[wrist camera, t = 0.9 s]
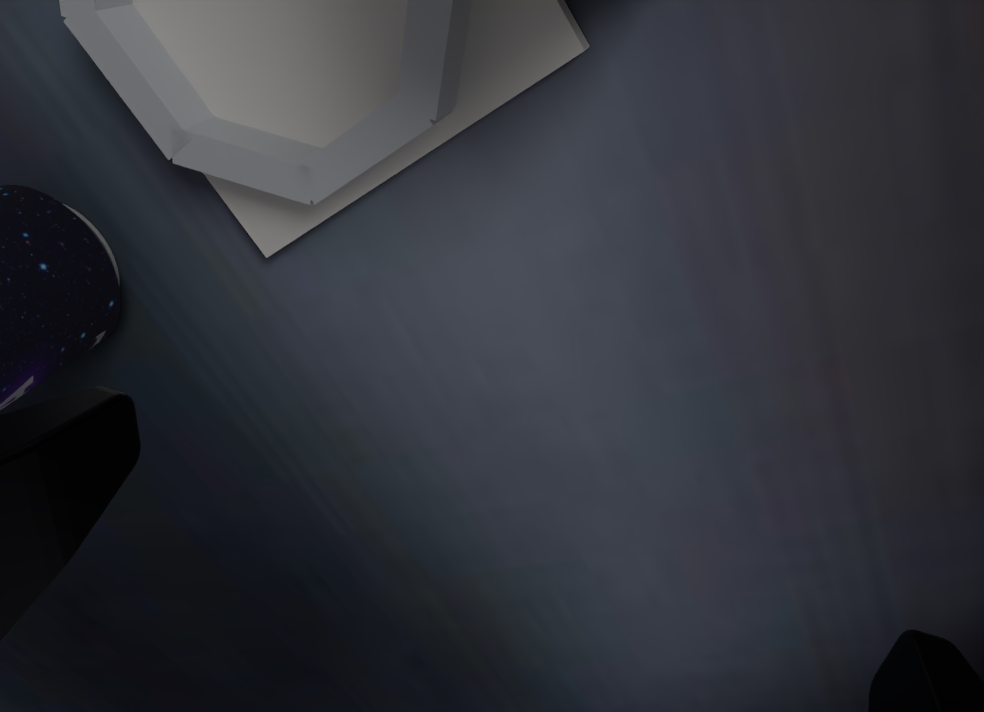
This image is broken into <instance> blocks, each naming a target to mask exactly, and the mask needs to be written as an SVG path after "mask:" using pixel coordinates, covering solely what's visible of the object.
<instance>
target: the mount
mask: <svg viewBox="0 0 984 712" xmlns="http://www.w3.org/2000/svg"><path fill="white" fill-rule="evenodd" d="M59 1H60V9H61V16H64V17H67V18H66V19H65V20H64V23H65V24H66V25H67V27H68V28H69V29H70V31H71V32H72V33H73V35H74V36H75V37H76V39H77V40H78V41H79V43H80V44H81V45H82V47H83V48H84V49H85V50H86V52H87V53H88V54H89V56H90V57H91V58H92V60H93V61H94V62H95V64H96V65H97V66H98V68H99V69H100V70H101V72H102V73H103V74H104V76H105V77H106V78H107V80H108V81H109V82H110V84H111V85H112V86H113V88H114V89H115V90H116V91H117V93H118V94H119V95H120V97H121V98H122V99H123V101H124V102H125V103H126V105H127V106H128V107H129V109H130V110H131V111H132V113H133V114H134V115H135V117H136V118H137V119H138V121H139V122H140V123H141V125H142V126H143V127H144V128H145V130H146V131H147V132H148V134H149V135H150V136H151V138H152V139H153V140H154V142H155V143H156V144H157V146H158V147H159V148H160V150H161V151H162V152H163V154H164V155H165V156H166V158H167V159H168V160H170V159H173V163H174V164H177V165H180V166H183V167H187V168H190V169H193V170H196V171H200V172H203V174H204V175H205V176H206V178H207V179H208V180H209V182H210V183H211V184H212V186H213V187H214V189H215V190H216V191H217V193H218V194H219V195H220V197H221V198H222V199H223V201H224V202H225V203H226V205H227V206H228V207H229V209H230V210H231V211H232V213H233V214H234V215H235V217H236V218H237V219H238V221H239V222H240V223H241V225H242V226H243V227H244V229H245V230H246V231H247V233H248V234H249V235H250V237H251V238H252V239H253V241H254V242H255V243H256V245H257V246H258V247H259V249H260V250H261V251H262V253H263V254H264V256H265V257H266V258H268V257H269V256H271V255H272V254H274V253H275V252H277V251H278V250H280V249H281V248H283V247H284V246H286V245H287V244H289V243H291V242H292V241H294V240H295V239H297V238H298V237H300V236H301V235H303V234H304V233H306V232H307V231H309V230H311V229H312V228H314V227H315V226H317V225H318V224H320V223H321V222H323V221H324V220H326V219H327V218H329V217H330V216H332V215H334V214H335V213H337V212H338V211H340V210H341V209H343V208H344V207H346V206H347V205H349V204H350V203H352V202H354V201H355V200H357V199H358V198H360V197H361V196H363V195H364V194H366V193H367V192H369V191H370V190H372V189H373V188H375V187H377V186H378V185H380V184H381V183H383V182H384V181H386V180H387V179H389V178H390V177H392V176H393V175H395V174H396V173H398V172H400V171H401V170H403V169H404V168H406V167H407V166H409V165H410V164H412V163H413V162H415V161H416V160H418V159H420V158H421V157H423V156H424V155H426V154H427V153H429V152H430V151H432V150H433V149H435V148H436V147H438V146H439V145H441V144H443V143H444V142H446V141H447V140H449V139H450V138H452V137H453V136H455V135H456V134H458V133H459V132H461V131H463V130H464V129H466V128H467V127H469V126H470V125H472V124H473V123H475V122H476V121H478V120H479V119H481V118H482V117H484V116H486V115H487V114H489V113H490V112H492V111H493V110H495V109H496V108H498V107H499V106H501V105H502V104H504V103H506V102H507V101H509V100H510V99H512V98H513V97H515V96H516V95H518V94H519V93H521V92H522V91H524V90H525V89H527V88H529V87H530V86H532V85H533V84H535V83H536V82H538V81H539V80H541V79H542V78H544V77H545V76H547V75H548V74H550V73H552V72H553V71H555V70H556V69H558V68H559V67H561V66H562V65H564V64H565V63H567V62H568V61H570V60H572V59H573V58H575V57H576V56H578V55H579V54H581V53H582V52H584V51H585V50H586V49H588V48H589V47H590V46H589V44H588V42H587V40H586V38H585V37H584V35H583V33H582V31H581V29H580V28H579V26H578V24H577V22H576V20H575V19H574V17H573V15H572V13H571V11H570V10H569V8H568V6H567V4H566V2H565V1H564V0H59Z"/></svg>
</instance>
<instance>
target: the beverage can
mask: <svg viewBox="0 0 984 712" xmlns="http://www.w3.org/2000/svg"><path fill="white" fill-rule="evenodd" d="M119 285H120V280H119V272H118V267H117V264H116V261H115V258H114V255H113V253H112V251H111V249H110V247H109V246H108V244H107V242H106V241H105V239H104V238H103V236H102V235H101V234H100V232H99V231H98V230H97V229H96V228H95V227H94V226H93V225H92V223H91V222H90V221H88V220H87V219H86V218H85V217H84V216H83V215H81V214H80V213H78V212H77V211H75V210H74V209H72V208H70V207H69V206H67V205H65V204H62V203H60V202H58V201H57V200H55V199H54V198H52V197H50V196H48V195H46V194H44V193H42V192H40V191H37V190H34V189H31V188H28V187H24V186H17V185H4V186H0V410H1V409H3V408H4V407H6V406H7V405H9V404H10V403H12V402H13V401H14V400H16V399H17V398H19V397H20V396H22V395H23V394H25V393H26V392H28V391H29V390H31V389H32V388H34V387H35V386H37V385H38V384H40V383H41V382H43V381H44V380H46V379H47V378H48V377H50V376H51V375H53V374H54V373H56V372H57V371H59V370H60V369H62V368H63V367H65V366H66V365H68V364H69V363H71V362H72V361H74V360H75V359H77V358H78V357H80V356H81V355H83V354H84V353H85V352H87V351H88V350H90V349H91V348H93V347H94V346H96V345H97V344H99V343H100V342H102V341H103V340H105V339H106V338H107V337H108V336H109V335H110V334H111V333H112V332H113V330H114V328H115V327H116V324H117V322H118V319H119V315H120V308H121V297H120V287H119Z"/></svg>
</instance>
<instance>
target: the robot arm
mask: <svg viewBox="0 0 984 712" xmlns="http://www.w3.org/2000/svg"><path fill="white" fill-rule="evenodd" d="M140 448H141V444H140V437H139V430H138V424H137V417H136V410H135V404H134V401H133V399H132V398H131V397H130V395H128V394H127V393H124V392H121V391H118V390H114V389H111V388H108V387H104V386H94V387H90V388H87V389H83V390H80V391H77V392H74V393H70V394H67V395H64V396H61V397H57V398H54V399H51V400H47V401H44V402H41V403H38V404H34V405H31V406H28V407H25V408H21V409H18V410H15V411H11V412H8V413H5V414H2V415H0V643H1V642H2V641H3V640H4V639H5V638H6V636H7V635H8V634H9V633H10V632H11V630H12V629H13V628H14V627H15V626H16V625H17V623H18V622H19V621H20V620H21V619H22V617H23V616H24V615H25V614H26V613H27V612H28V610H29V609H30V608H31V607H32V606H33V604H34V603H35V602H36V601H37V600H38V598H39V597H40V596H41V595H42V594H43V593H44V591H45V590H46V589H47V588H48V587H49V585H50V584H51V583H52V582H53V581H54V579H55V578H56V577H57V576H58V574H59V573H60V572H61V571H62V569H63V568H64V567H65V566H66V564H67V563H68V562H69V560H70V559H71V557H72V556H73V555H74V553H75V552H76V551H77V549H78V548H79V546H80V545H81V543H82V542H83V541H84V539H85V538H86V536H87V535H88V533H89V532H90V530H91V529H92V527H93V526H94V525H95V523H96V522H97V520H98V519H99V517H100V516H101V514H102V513H103V512H104V510H105V509H106V507H107V506H108V504H109V503H110V501H111V500H112V498H113V497H114V496H115V494H116V493H117V491H118V490H119V488H120V487H121V485H122V484H123V482H124V481H125V480H126V478H127V477H128V475H129V474H130V472H131V471H132V469H133V468H134V466H135V464H136V463H137V460H138V458H139V454H140ZM868 712H984V682H983V681H982V680H981V678H980V677H979V676H978V675H977V673H976V672H975V671H974V669H973V668H972V667H971V666H970V664H969V663H968V662H967V660H966V659H965V658H964V656H963V655H962V654H961V653H960V651H959V650H958V649H957V648H956V647H955V646H954V645H953V644H952V643H951V642H950V641H948V640H946V639H944V638H940V637H937V636H934V635H930V634H927V633H924V632H920V631H917V630H906V631H905V632H903V633H902V634H901V635H900V636H899V638H898V639H897V641H896V642H895V644H894V646H893V647H892V649H891V650H890V652H889V653H888V655H887V657H886V658H885V660H884V661H883V663H882V664H881V666H880V667H879V669H878V671H877V672H876V674H875V676H874V678H873V680H872V683H871V687H870V692H869V710H868Z"/></svg>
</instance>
